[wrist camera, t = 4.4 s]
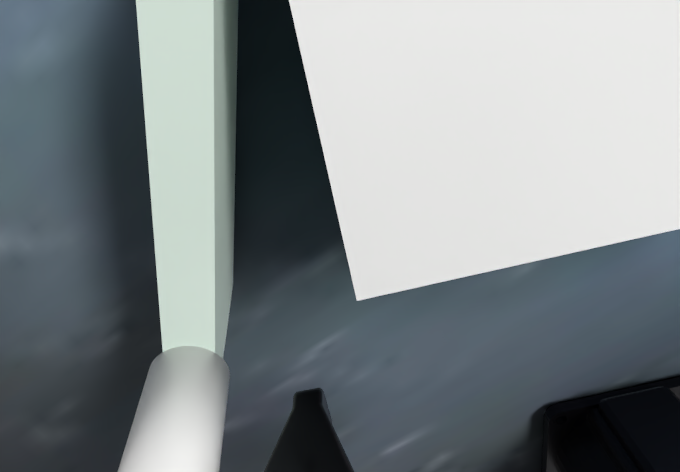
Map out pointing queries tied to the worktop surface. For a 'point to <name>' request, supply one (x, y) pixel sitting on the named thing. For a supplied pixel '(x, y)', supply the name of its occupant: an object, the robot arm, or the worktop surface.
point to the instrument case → (492, 129)
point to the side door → (188, 229)
